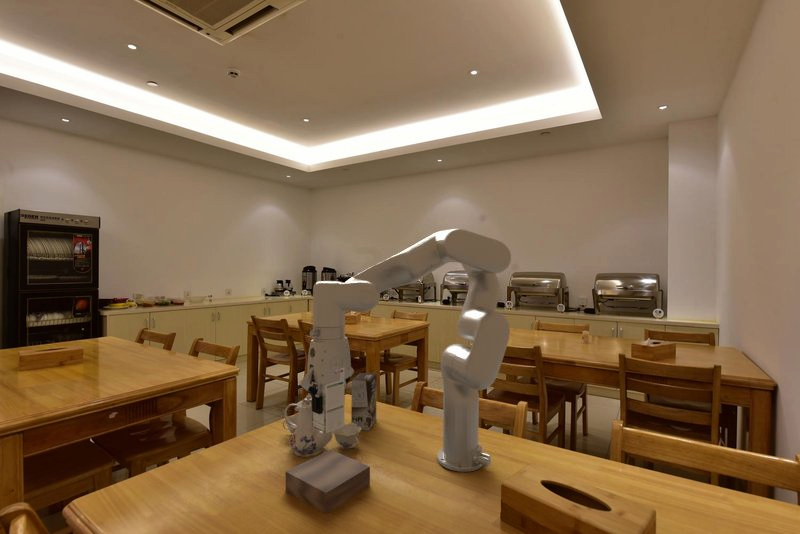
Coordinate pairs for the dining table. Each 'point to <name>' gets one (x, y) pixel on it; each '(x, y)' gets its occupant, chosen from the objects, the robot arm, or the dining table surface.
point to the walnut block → (327, 480)
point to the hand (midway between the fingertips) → (328, 407)
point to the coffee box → (364, 400)
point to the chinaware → (315, 432)
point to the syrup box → (331, 406)
